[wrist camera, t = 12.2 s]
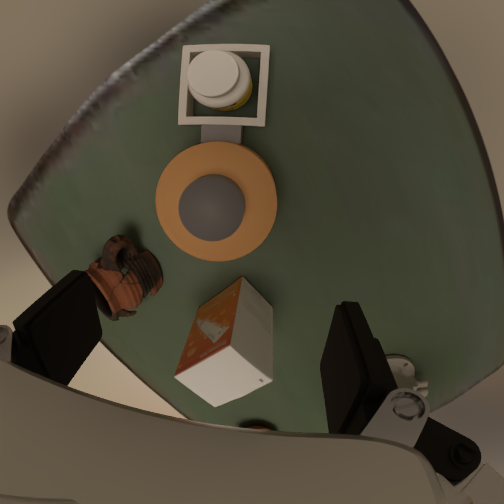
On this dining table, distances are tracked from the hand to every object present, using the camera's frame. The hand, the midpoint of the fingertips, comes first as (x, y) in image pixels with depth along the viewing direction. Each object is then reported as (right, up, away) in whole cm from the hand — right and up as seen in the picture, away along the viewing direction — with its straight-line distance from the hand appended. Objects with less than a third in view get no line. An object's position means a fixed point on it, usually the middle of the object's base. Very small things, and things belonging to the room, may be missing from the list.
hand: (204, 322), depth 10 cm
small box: (-1, -5, +29) cm, 29 cm away
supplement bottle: (-1, +20, +18) cm, 27 cm away
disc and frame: (-1, +15, +20) cm, 25 cm away
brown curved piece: (-15, +1, +27) cm, 31 cm away
